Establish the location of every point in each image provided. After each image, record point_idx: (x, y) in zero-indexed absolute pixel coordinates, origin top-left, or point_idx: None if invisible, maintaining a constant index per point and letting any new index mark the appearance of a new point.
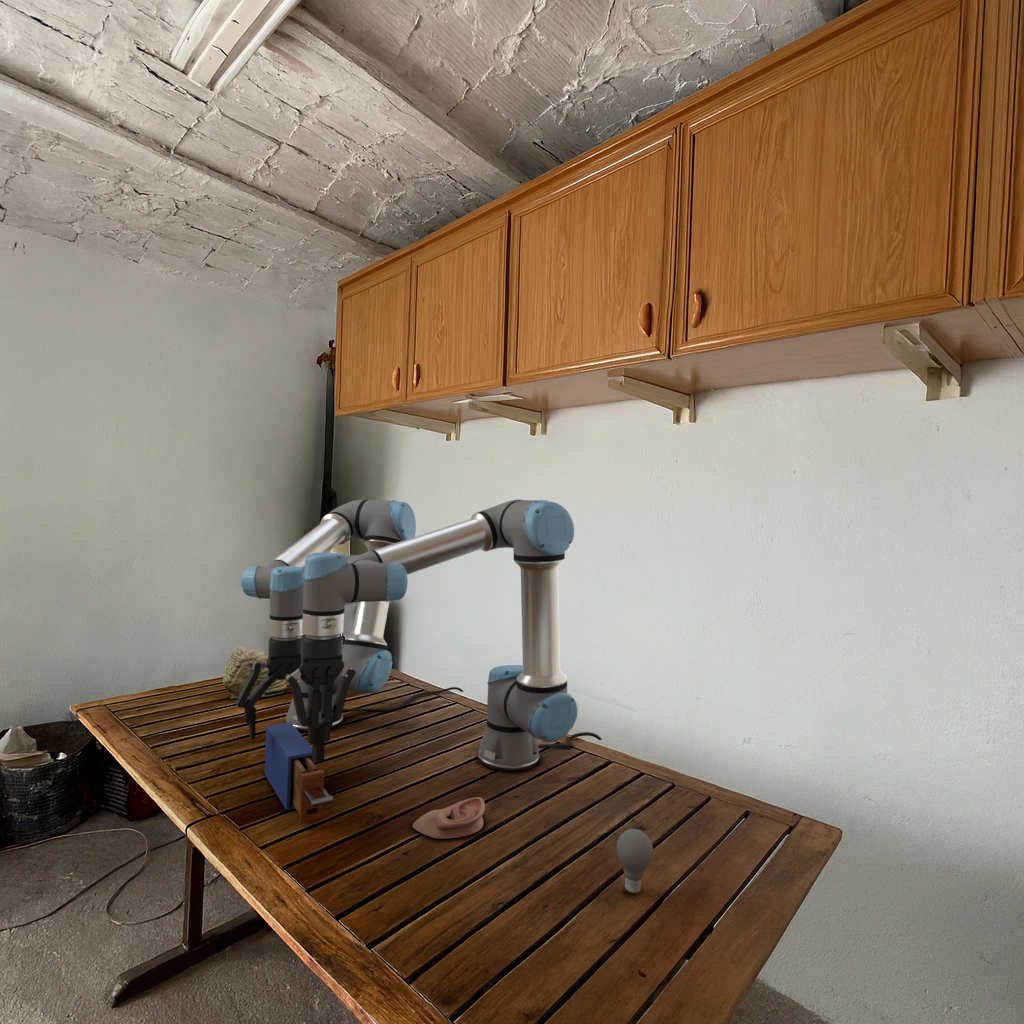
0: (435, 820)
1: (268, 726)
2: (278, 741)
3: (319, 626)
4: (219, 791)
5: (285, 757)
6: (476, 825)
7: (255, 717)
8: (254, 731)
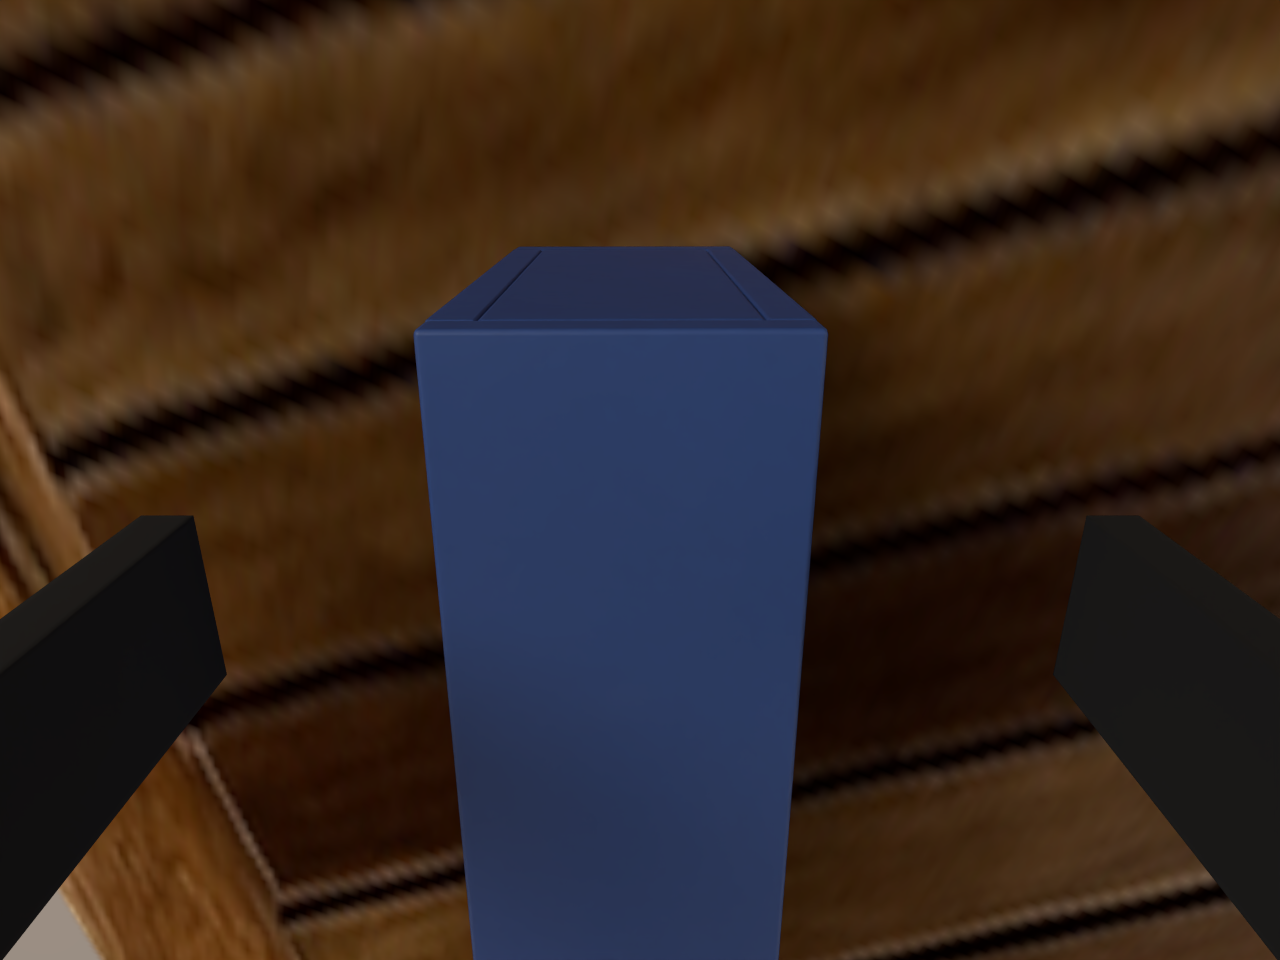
0: None
1: (439, 378)
2: (479, 931)
3: None
4: (149, 407)
5: None
6: None
7: (21, 930)
8: (162, 735)
